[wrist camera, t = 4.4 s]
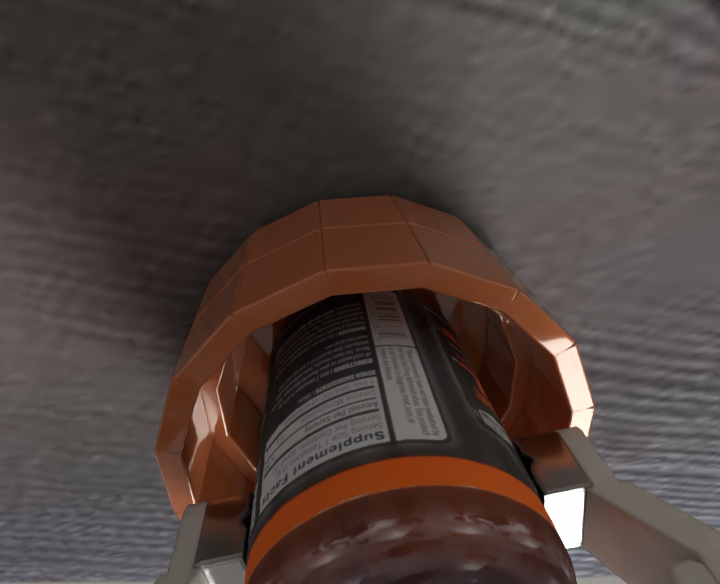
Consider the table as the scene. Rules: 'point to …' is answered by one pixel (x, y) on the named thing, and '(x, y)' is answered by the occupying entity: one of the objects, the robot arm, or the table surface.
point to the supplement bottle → (389, 458)
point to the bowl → (351, 276)
